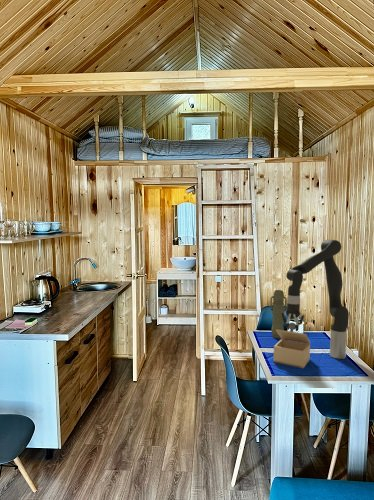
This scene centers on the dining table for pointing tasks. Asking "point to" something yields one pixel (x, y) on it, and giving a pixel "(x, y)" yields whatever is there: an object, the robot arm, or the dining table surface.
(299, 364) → the carton
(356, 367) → the dining table surface
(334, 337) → the robot arm
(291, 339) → the carton flap
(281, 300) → the thermos
